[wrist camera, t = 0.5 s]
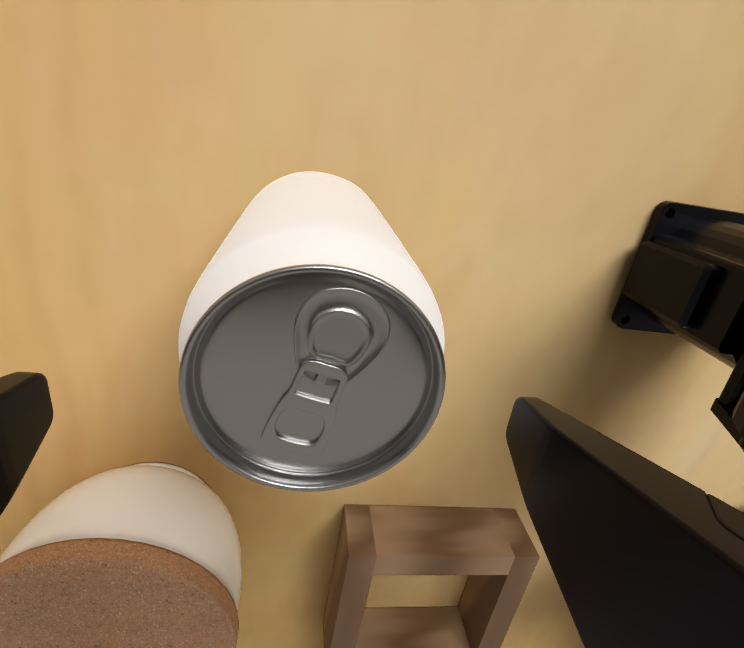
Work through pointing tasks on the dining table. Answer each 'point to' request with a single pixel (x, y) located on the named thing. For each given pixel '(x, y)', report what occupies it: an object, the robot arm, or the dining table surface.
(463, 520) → the sleeve block
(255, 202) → the can
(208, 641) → the lidded jar
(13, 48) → the dining table surface
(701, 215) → the robot arm
